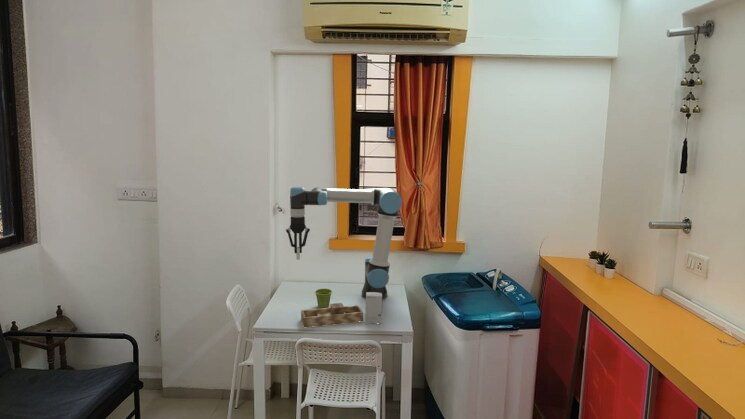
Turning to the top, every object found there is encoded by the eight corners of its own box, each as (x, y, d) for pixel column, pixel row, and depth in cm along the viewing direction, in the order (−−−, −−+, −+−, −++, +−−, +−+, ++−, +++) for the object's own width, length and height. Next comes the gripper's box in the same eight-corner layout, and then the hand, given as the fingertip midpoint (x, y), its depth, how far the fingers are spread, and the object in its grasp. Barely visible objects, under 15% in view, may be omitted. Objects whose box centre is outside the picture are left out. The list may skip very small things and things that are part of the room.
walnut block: (341, 312, 234) (341, 302, 233) (344, 316, 228) (344, 307, 227) (330, 313, 232) (330, 303, 231) (332, 317, 227) (332, 308, 226)
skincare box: (364, 324, 227) (365, 295, 225) (365, 319, 233) (365, 291, 230) (381, 324, 227) (382, 296, 224) (381, 319, 233) (382, 291, 230)
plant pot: (329, 310, 243) (329, 295, 242) (312, 308, 245) (312, 293, 244) (334, 304, 252) (334, 289, 251) (318, 302, 254) (317, 287, 253)
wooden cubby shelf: (358, 314, 239) (358, 305, 238) (363, 321, 230) (363, 312, 229) (301, 319, 231) (301, 310, 230) (303, 327, 221) (303, 318, 221)
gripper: (285, 217, 236) (286, 261, 240) (310, 216, 240) (311, 260, 244) (284, 215, 243) (285, 257, 247) (308, 214, 247) (309, 256, 251)
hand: (298, 258), depth 245 cm, fingers closed
